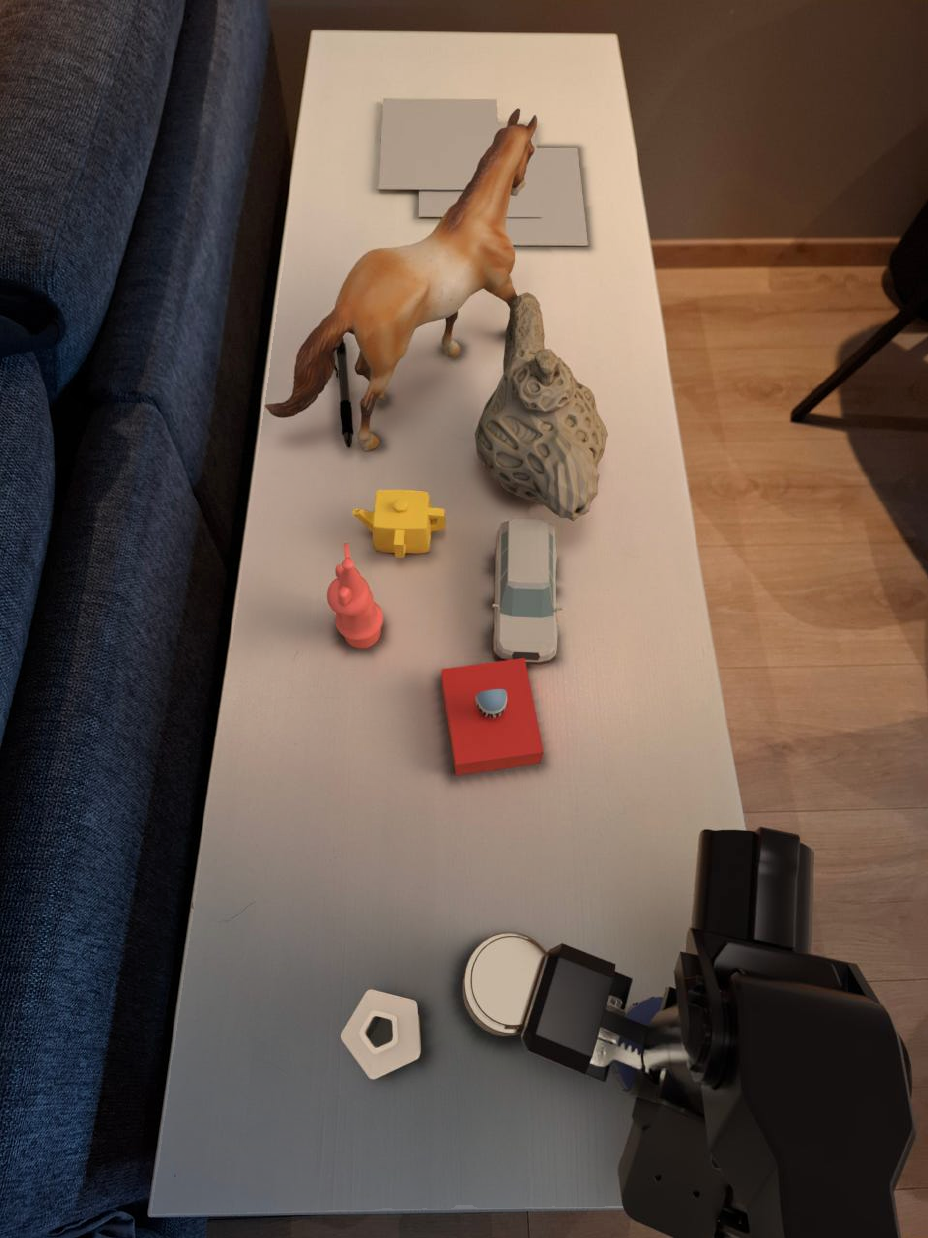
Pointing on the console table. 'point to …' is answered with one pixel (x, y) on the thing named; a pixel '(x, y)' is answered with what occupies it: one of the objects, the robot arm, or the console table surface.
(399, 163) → the paper stack
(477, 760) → the red box
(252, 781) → the console table surface
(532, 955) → the jar
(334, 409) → the console table surface
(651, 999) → the jar lid
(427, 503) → the teapot
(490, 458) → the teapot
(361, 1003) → the white pentagonal vase
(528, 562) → the toy car
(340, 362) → the pen
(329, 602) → the figurine
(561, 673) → the console table surface
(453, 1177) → the console table surface
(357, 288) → the horse figurine
